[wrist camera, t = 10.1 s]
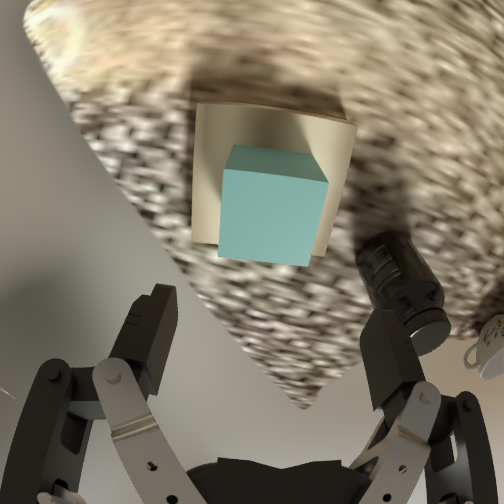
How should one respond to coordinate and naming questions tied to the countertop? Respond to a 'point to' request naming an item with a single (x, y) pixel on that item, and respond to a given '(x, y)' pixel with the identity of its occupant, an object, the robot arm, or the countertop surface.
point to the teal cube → (270, 205)
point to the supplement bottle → (405, 288)
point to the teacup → (489, 349)
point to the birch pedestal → (266, 136)
